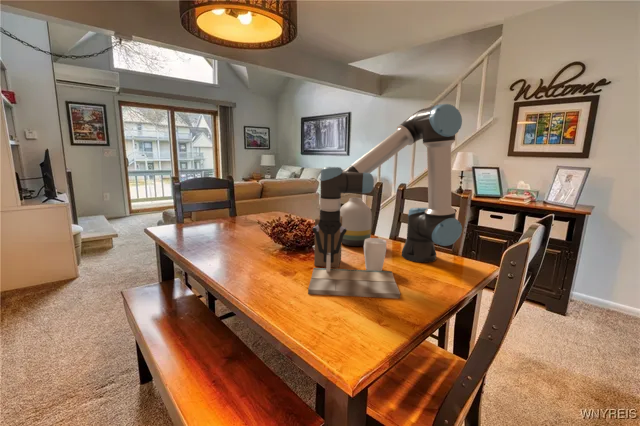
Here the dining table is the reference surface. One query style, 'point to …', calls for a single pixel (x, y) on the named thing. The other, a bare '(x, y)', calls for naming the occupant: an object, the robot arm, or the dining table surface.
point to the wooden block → (320, 256)
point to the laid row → (353, 288)
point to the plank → (353, 275)
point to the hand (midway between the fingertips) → (328, 270)
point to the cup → (374, 253)
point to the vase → (356, 222)
